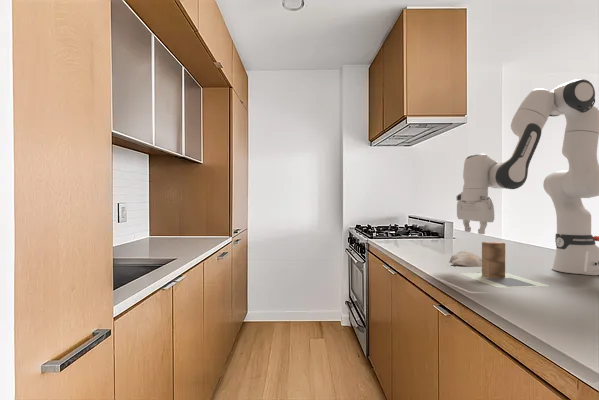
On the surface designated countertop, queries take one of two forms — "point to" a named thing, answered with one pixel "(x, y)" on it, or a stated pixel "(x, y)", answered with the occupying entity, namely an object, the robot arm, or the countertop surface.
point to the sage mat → (504, 281)
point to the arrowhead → (466, 259)
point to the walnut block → (493, 259)
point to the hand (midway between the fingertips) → (474, 232)
